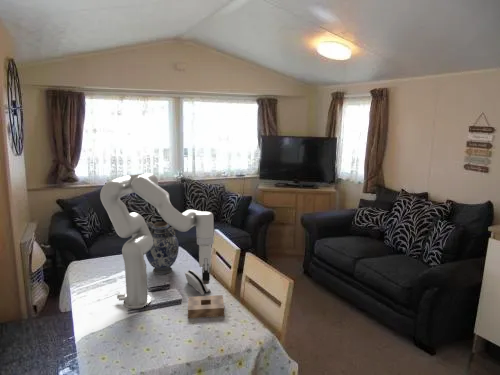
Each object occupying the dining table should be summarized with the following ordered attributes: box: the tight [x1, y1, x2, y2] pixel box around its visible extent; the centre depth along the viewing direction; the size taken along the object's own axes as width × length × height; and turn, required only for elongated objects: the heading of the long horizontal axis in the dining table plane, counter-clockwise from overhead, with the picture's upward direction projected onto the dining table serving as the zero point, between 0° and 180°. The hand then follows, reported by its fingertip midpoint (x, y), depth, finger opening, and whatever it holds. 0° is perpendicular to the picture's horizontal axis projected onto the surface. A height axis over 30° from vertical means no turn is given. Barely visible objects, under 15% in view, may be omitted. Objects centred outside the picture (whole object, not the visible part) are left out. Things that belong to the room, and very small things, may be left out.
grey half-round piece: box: [184, 269, 212, 296], centre depth 196 cm, size 17×5×10 cm, turn 35°
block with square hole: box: [187, 294, 225, 319], centre depth 175 cm, size 16×12×4 cm
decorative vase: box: [144, 221, 180, 276], centre depth 214 cm, size 21×19×28 cm
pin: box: [201, 264, 210, 285], centre depth 171 cm, size 3×3×10 cm
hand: (205, 278), depth 172 cm, fingers closed on pin, 3 cm apart
